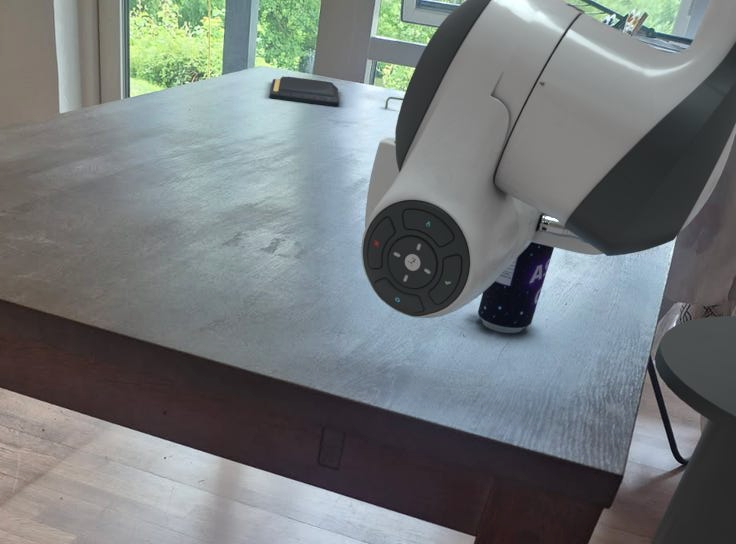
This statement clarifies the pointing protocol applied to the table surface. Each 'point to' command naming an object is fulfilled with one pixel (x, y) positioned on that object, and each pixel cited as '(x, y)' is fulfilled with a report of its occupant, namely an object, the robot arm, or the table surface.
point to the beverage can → (516, 291)
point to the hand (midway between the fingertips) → (520, 178)
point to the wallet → (305, 91)
